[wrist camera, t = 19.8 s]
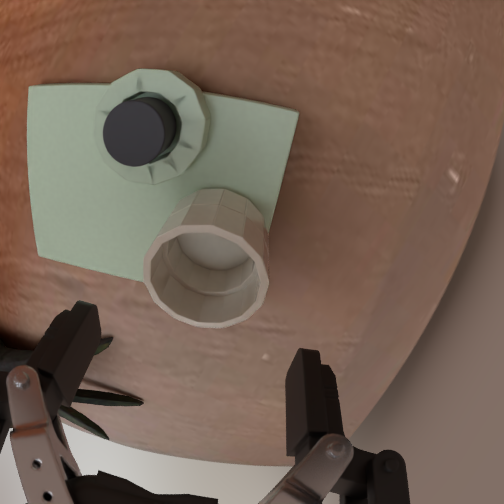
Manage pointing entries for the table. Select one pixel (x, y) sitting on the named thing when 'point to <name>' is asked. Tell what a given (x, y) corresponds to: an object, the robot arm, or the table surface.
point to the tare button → (139, 130)
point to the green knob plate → (147, 176)
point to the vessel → (11, 358)
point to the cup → (210, 260)
